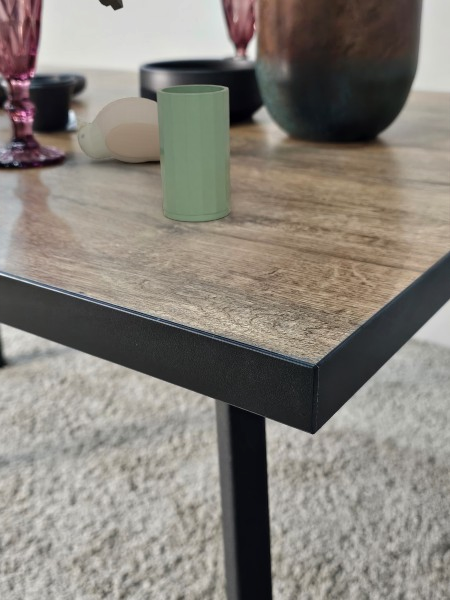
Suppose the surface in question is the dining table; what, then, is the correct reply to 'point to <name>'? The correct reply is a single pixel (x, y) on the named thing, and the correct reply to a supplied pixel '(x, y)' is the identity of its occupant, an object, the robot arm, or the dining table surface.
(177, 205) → the cup
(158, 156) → the decorative bird
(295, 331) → the dining table surface
